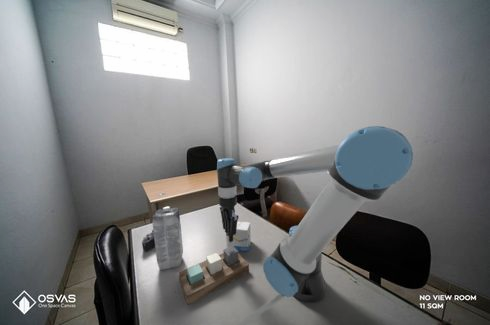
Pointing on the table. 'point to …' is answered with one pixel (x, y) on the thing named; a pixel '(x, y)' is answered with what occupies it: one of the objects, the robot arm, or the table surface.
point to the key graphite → (231, 256)
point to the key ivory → (214, 263)
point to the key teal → (195, 274)
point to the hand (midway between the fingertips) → (230, 246)
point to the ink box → (242, 236)
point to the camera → (148, 242)
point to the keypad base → (212, 278)
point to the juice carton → (168, 238)
